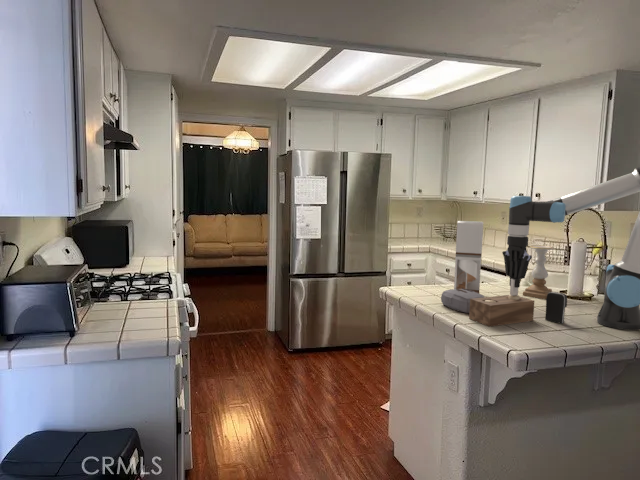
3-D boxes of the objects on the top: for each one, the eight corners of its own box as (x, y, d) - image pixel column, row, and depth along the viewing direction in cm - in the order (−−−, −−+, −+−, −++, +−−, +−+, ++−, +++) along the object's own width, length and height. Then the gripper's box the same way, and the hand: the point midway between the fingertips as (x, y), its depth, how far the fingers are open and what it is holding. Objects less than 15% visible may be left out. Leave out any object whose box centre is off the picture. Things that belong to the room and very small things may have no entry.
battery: (566, 322, 187) (569, 293, 185) (561, 324, 184) (564, 294, 183) (549, 318, 192) (551, 290, 191) (544, 319, 190) (546, 291, 188)
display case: (453, 296, 226) (457, 222, 222) (454, 292, 236) (458, 220, 232) (479, 299, 223) (483, 223, 219) (479, 294, 233) (483, 221, 229)
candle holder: (530, 292, 239) (534, 244, 236) (554, 295, 232) (557, 246, 229) (522, 295, 231) (525, 246, 229) (545, 299, 224) (549, 248, 221)
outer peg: (497, 318, 185) (498, 302, 185) (488, 319, 184) (489, 302, 183) (489, 315, 189) (490, 299, 188) (481, 316, 187) (482, 300, 187)
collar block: (533, 320, 188) (534, 300, 187) (489, 326, 180) (490, 305, 179) (511, 313, 198) (513, 294, 197) (469, 318, 190) (470, 298, 189)
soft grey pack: (436, 305, 211) (468, 317, 193) (436, 286, 210) (469, 296, 192) (462, 302, 217) (496, 313, 199) (463, 283, 216) (497, 293, 198)
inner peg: (520, 312, 190) (521, 296, 189) (513, 312, 188) (514, 297, 188) (513, 309, 194) (514, 294, 193) (505, 310, 192) (506, 294, 191)
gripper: (538, 237, 183) (534, 298, 186) (512, 233, 195) (508, 290, 198) (523, 237, 180) (519, 299, 183) (498, 234, 192) (494, 292, 195)
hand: (513, 294), depth 190 cm, fingers closed
